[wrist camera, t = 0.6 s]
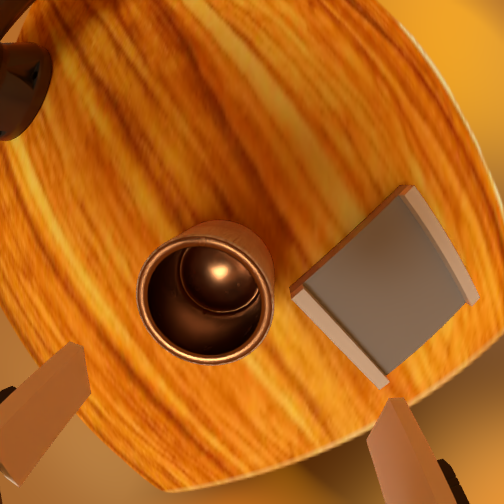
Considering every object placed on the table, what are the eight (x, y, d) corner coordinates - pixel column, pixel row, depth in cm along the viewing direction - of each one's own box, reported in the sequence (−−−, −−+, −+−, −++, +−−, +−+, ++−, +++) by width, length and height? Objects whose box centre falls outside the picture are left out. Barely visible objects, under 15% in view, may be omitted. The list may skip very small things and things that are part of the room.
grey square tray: (289, 287, 31) (291, 299, 27) (400, 185, 28) (414, 185, 24) (371, 374, 32) (379, 389, 29) (465, 288, 29) (479, 297, 26)
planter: (223, 196, 29) (201, 199, 20) (295, 275, 30) (306, 313, 21) (152, 266, 31) (110, 296, 22) (221, 336, 32) (203, 387, 23)
